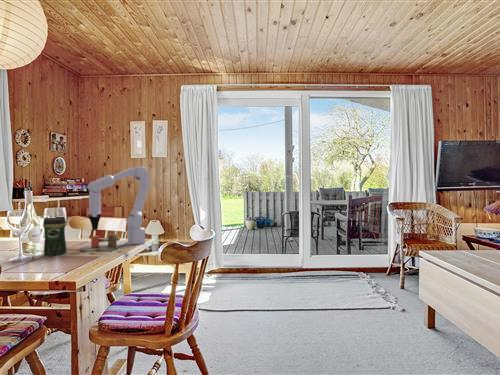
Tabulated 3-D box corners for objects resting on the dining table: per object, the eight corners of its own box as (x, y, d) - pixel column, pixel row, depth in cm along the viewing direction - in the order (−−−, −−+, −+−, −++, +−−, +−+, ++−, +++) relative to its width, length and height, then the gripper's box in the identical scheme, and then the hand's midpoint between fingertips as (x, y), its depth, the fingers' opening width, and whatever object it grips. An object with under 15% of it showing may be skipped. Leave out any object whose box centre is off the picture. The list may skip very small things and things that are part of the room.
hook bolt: (120, 244, 185) (119, 234, 185) (120, 245, 182) (120, 235, 182) (91, 246, 180) (91, 236, 180) (91, 247, 176) (91, 237, 176)
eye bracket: (116, 245, 189) (116, 232, 188) (117, 249, 178) (117, 235, 177) (82, 247, 182) (82, 234, 182) (81, 252, 171) (81, 238, 171)
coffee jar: (67, 251, 171) (67, 215, 171) (64, 255, 164) (64, 216, 164) (45, 253, 168) (45, 215, 168) (41, 256, 161) (41, 217, 160)
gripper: (87, 203, 187) (87, 227, 187) (85, 204, 173) (86, 231, 174) (101, 202, 189) (101, 227, 190) (100, 204, 176) (101, 230, 176)
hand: (95, 229), depth 182 cm, fingers open, 7 cm apart
